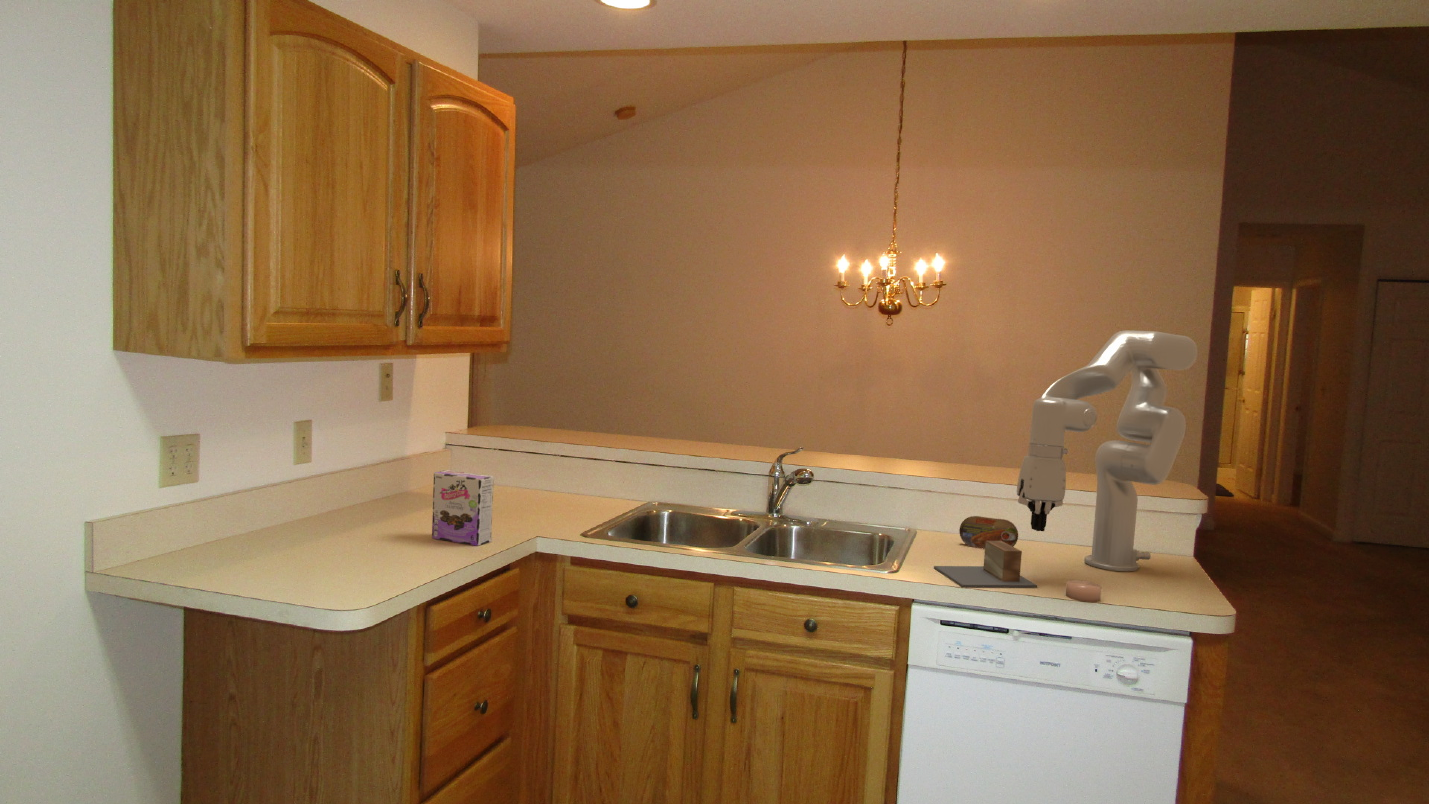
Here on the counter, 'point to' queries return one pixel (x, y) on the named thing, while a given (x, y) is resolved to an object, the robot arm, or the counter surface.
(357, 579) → the counter surface
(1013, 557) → the slab
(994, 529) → the tin
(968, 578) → the mat
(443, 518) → the candy box
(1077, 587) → the pink round puck
